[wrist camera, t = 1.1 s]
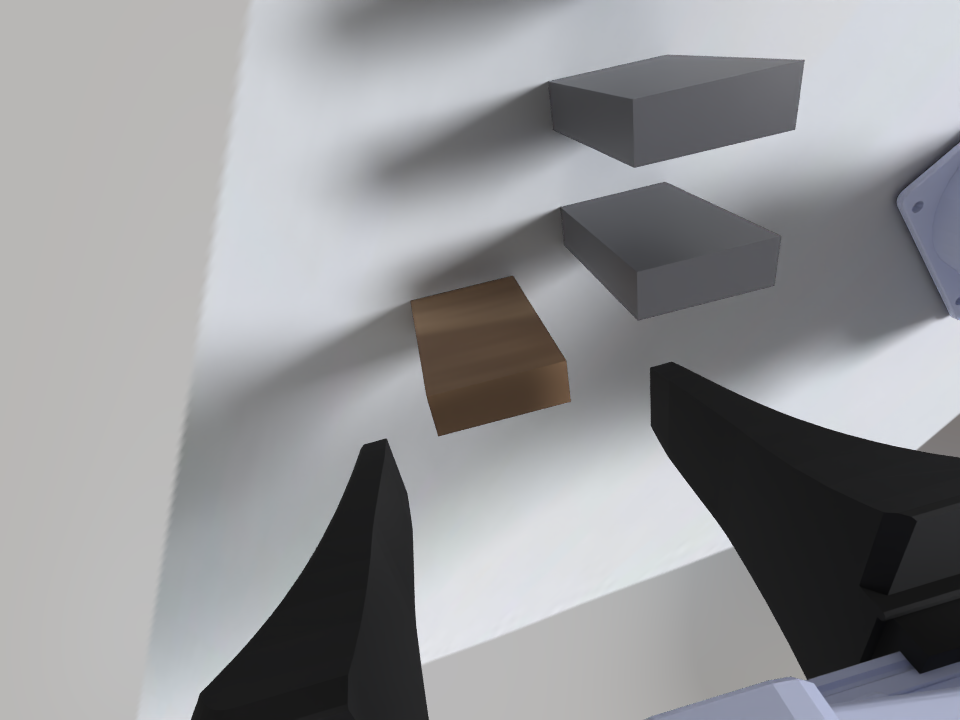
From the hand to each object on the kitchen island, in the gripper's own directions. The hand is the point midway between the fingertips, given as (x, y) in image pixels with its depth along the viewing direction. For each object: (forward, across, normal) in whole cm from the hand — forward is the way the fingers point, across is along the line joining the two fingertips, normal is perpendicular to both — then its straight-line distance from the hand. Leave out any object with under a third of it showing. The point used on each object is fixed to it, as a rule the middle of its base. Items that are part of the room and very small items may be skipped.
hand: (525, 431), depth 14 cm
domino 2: (+10, -7, -6) cm, 13 cm away
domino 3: (+10, -6, -2) cm, 12 cm away
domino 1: (+10, 0, +1) cm, 10 cm away
